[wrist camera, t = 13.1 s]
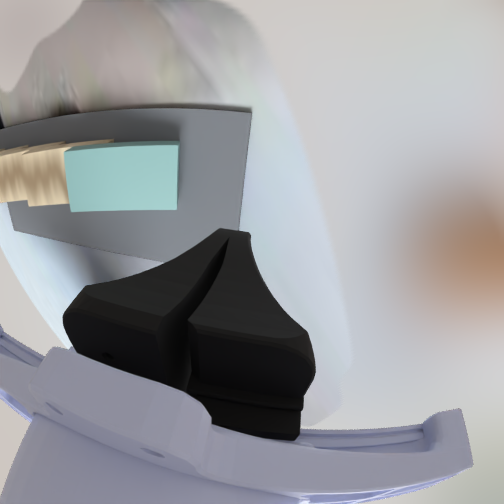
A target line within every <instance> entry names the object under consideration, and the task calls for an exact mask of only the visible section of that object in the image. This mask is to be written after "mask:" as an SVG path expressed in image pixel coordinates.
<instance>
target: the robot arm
mask: <svg viewBox="0 0 504 504" xmlns="http://www.w3.org/2000/svg"><path fill="white" fill-rule="evenodd" d="M250 240H251V235H250V233H249V232H243V231H237V230H231V229H224V228H219V229H217V230H216V231H215V232H213V233H212V234H210V235H209V236H208V237H206V238H205V239H204V240H202V241H201V242H199V243H198V244H197V245H195V246H194V247H192V248H191V249H189V250H187V251H186V252H184V253H182V254H181V255H179V256H177V257H176V258H174V259H172V260H170V261H168V262H166V263H164V264H162V265H159V266H157V267H155V268H152V269H149V270H147V271H144V272H141V273H139V274H136V275H133V276H129V277H126V278H122V279H118V280H114V281H110V282H104V283H99V284H93V285H87V286H85V287H84V288H83V289H82V290H81V292H80V293H79V294H78V295H77V297H76V298H75V299H74V300H73V302H72V303H71V304H70V305H69V307H68V308H67V309H66V311H65V312H64V314H63V326H64V328H65V331H66V334H67V335H68V337H69V339H70V341H71V343H72V345H73V347H72V346H71V348H70V349H69V350H68V349H64V348H60V347H53V348H52V349H50V350H49V352H48V353H47V354H46V356H43V355H41V354H39V353H38V352H35V351H34V350H32V349H30V348H29V347H27V346H25V345H24V344H22V343H20V342H19V341H17V340H16V339H14V338H13V337H11V336H9V335H8V334H6V333H5V332H4V331H3V328H2V327H1V325H0V399H2V400H3V401H4V402H5V403H6V404H7V405H9V406H10V407H11V408H12V409H13V410H15V411H16V412H17V413H18V414H20V415H21V416H22V417H24V418H25V419H26V420H28V421H29V422H30V423H31V424H30V426H29V428H28V430H27V432H26V434H25V436H24V438H23V440H22V443H21V445H20V447H19V449H18V452H17V454H16V457H15V459H14V461H13V464H12V466H11V469H10V471H9V474H8V477H7V480H6V482H5V485H4V488H3V491H2V494H1V497H0V504H357V503H363V502H369V501H375V500H380V499H385V498H389V497H394V496H398V495H402V494H406V493H410V492H414V491H417V490H421V489H424V488H428V487H431V486H433V485H435V484H437V483H440V482H442V481H445V480H447V479H449V478H451V477H453V476H455V475H457V474H459V473H461V472H463V471H465V470H467V469H469V468H471V467H472V466H473V459H472V454H471V449H470V444H469V439H468V434H467V430H466V426H465V422H464V418H463V414H462V411H461V409H459V408H458V409H453V410H448V411H442V412H438V413H436V414H434V415H432V416H430V417H429V418H428V419H426V420H425V421H424V422H423V424H417V425H410V426H401V427H391V428H378V429H360V430H316V429H300V422H301V411H302V410H303V406H304V395H305V393H306V392H307V390H308V388H309V387H310V385H311V383H312V381H313V380H314V376H315V373H316V366H315V358H314V353H313V349H312V344H311V341H310V338H309V335H308V332H307V331H306V330H305V329H304V328H302V327H301V326H300V325H299V324H298V323H297V322H296V321H294V320H293V319H292V318H291V317H290V316H289V315H288V314H287V313H286V312H285V311H284V310H283V308H282V307H281V306H280V304H279V303H278V302H277V301H276V299H275V298H274V297H273V295H272V294H271V292H270V291H269V289H268V287H267V286H266V284H265V282H264V280H263V278H262V276H261V274H260V272H259V270H258V267H257V265H256V262H255V259H254V256H253V252H252V248H251V241H250Z"/></svg>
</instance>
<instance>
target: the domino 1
mask: <svg viewBox="0 0 504 504" xmlns="http://www.w3.org/2000/svg"><path fill="white" fill-rule="evenodd" d="M62 144H66V141H62V142H56V143H50V144H44V145H38V146H33V147H28V148H23V149H18V150H14V151H9V152H5V153H2V154H0V203H3V202H11V201H20V200H27V195H26V189H25V183H24V177H23V170H22V162H21V155H22V154H24V153H25V152H27V151H29V150H32V149H38V148H43V147H49V146H55V145H62Z"/></svg>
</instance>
